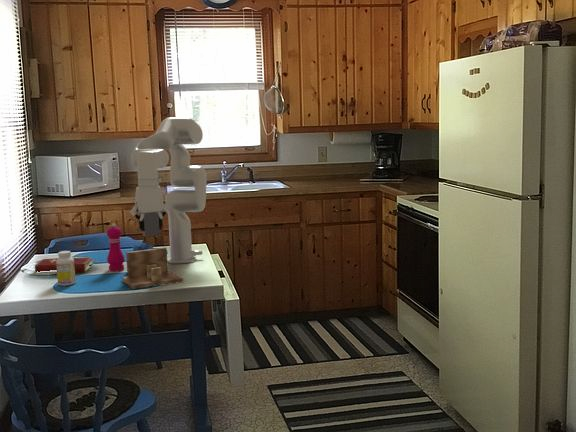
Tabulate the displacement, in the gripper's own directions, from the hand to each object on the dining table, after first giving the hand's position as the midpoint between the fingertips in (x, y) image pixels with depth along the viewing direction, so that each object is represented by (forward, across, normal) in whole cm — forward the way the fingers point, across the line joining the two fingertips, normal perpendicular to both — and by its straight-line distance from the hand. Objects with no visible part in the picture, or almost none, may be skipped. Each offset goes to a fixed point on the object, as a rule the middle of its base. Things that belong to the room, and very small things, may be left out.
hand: (151, 229), depth 266 cm
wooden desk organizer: (+21, 0, -2) cm, 21 cm away
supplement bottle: (+21, +30, -17) cm, 41 cm away
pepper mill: (+22, +7, -30) cm, 38 cm away
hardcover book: (+22, +26, -44) cm, 56 cm away
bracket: (+2, 0, 0) cm, 2 cm away
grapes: (+22, -2, -22) cm, 31 cm away
